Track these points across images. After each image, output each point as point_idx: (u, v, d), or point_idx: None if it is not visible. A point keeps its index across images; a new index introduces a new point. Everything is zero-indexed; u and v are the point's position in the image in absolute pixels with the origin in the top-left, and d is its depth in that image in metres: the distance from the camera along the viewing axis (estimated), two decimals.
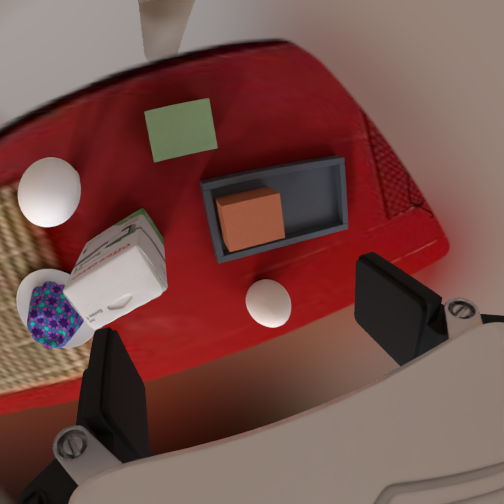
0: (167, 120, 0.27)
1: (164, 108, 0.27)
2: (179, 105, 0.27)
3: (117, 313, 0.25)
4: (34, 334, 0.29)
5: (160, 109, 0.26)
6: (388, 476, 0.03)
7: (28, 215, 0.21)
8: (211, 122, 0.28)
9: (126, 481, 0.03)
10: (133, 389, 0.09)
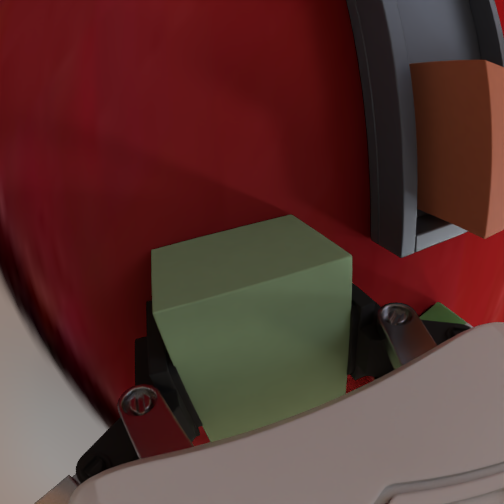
0: (241, 409, 0.09)
1: (205, 420, 0.09)
2: (193, 393, 0.08)
3: None
4: None
5: (209, 427, 0.09)
6: (388, 476, 0.03)
7: None
8: (257, 291, 0.07)
9: (126, 481, 0.03)
10: None
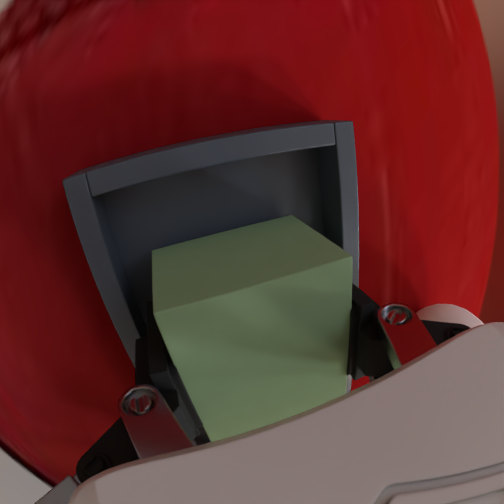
0: (241, 410, 0.09)
1: (206, 420, 0.09)
2: (194, 393, 0.08)
3: None
4: None
5: (209, 427, 0.09)
6: (388, 476, 0.03)
7: None
8: (257, 291, 0.07)
9: (126, 481, 0.03)
10: None
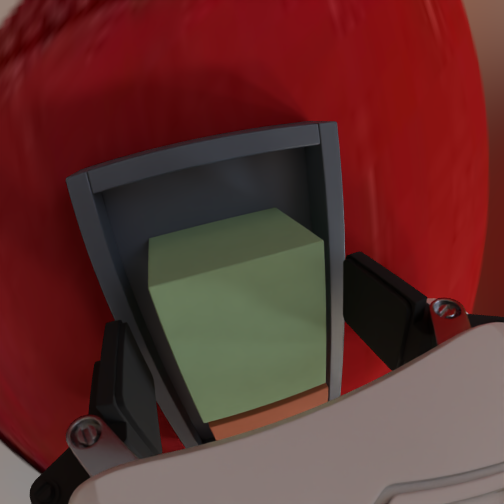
0: (227, 383, 0.10)
1: (194, 392, 0.10)
2: (183, 364, 0.09)
3: None
4: None
5: (198, 399, 0.10)
6: (388, 476, 0.03)
7: None
8: (238, 270, 0.09)
9: (126, 481, 0.03)
10: (143, 380, 0.09)
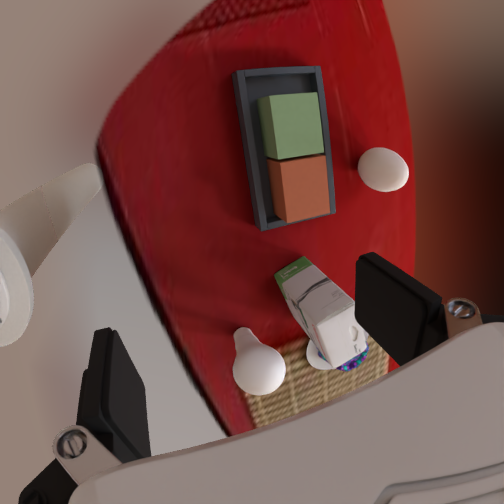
0: (288, 137, 0.29)
1: (277, 139, 0.29)
2: (275, 125, 0.28)
3: (360, 334, 0.32)
4: (353, 367, 0.44)
5: (277, 143, 0.29)
6: (388, 476, 0.03)
7: (275, 389, 0.33)
8: (293, 95, 0.27)
9: (126, 481, 0.03)
10: (133, 389, 0.09)
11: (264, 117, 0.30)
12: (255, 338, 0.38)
